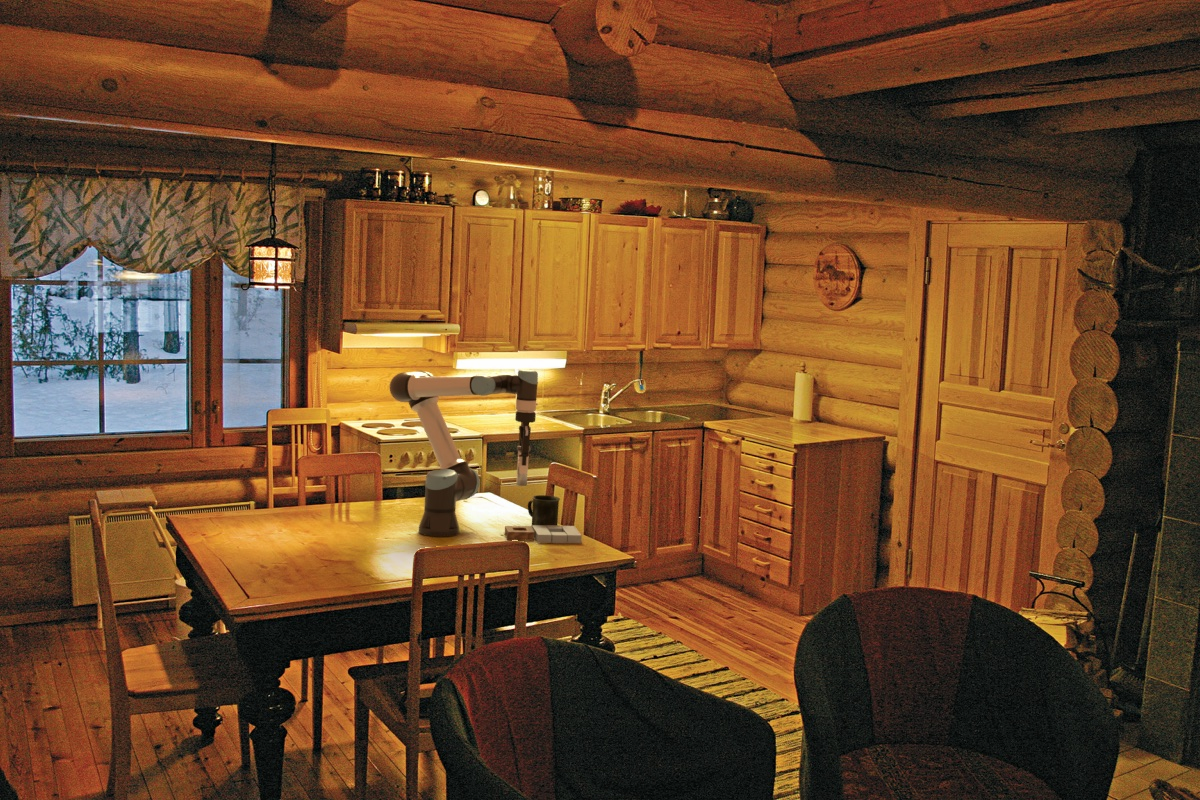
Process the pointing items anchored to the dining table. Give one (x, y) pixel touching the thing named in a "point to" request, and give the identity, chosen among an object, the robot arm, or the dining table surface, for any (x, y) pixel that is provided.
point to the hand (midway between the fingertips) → (522, 472)
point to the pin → (520, 477)
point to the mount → (519, 532)
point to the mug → (544, 510)
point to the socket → (556, 534)
